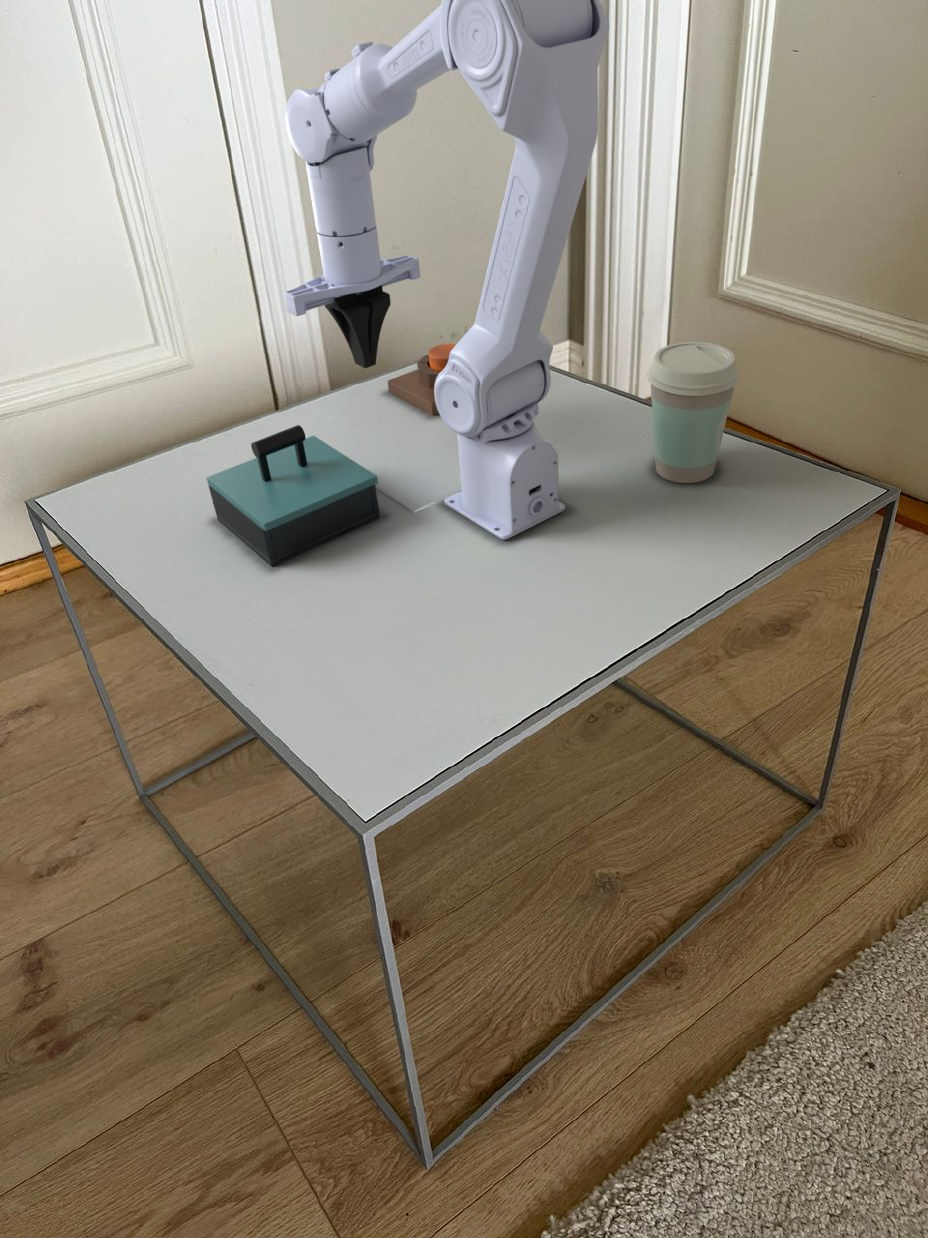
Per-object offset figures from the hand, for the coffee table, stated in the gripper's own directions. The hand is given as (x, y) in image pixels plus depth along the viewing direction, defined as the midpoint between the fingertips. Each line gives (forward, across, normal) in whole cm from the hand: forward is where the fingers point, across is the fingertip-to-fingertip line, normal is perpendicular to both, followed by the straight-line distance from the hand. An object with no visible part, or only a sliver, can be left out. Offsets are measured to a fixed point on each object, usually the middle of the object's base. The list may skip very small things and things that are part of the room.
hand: (365, 363), depth 98 cm
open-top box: (+10, +14, +7) cm, 18 cm away
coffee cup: (+10, -20, +26) cm, 35 cm away
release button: (+7, -15, -7) cm, 18 cm away
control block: (+10, -15, -7) cm, 19 cm away
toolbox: (+6, +14, +7) cm, 17 cm away
